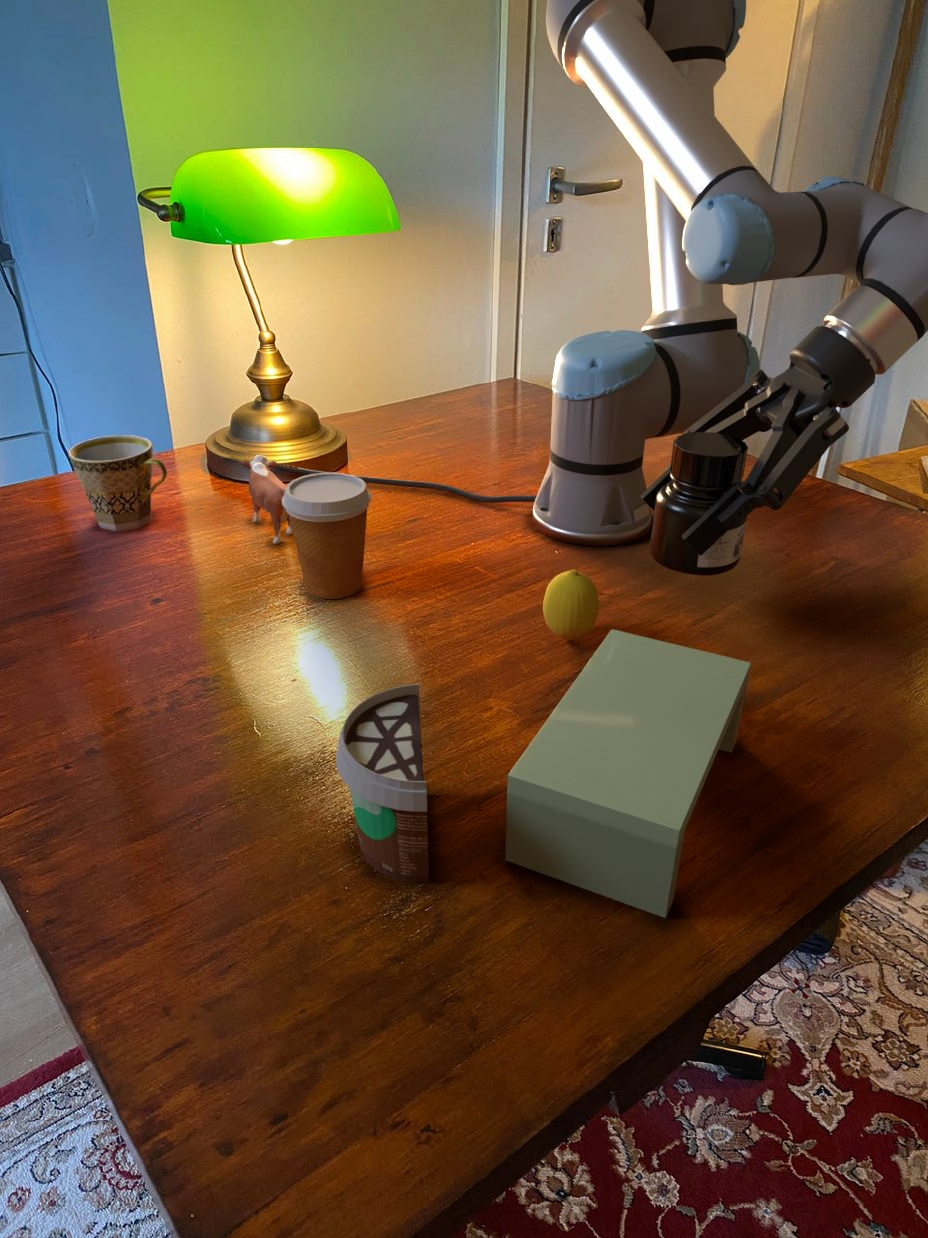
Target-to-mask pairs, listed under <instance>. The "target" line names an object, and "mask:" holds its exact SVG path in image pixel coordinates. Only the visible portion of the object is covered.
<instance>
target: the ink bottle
mask: <svg viewBox="0 0 928 1238" xmlns="http://www.w3.org/2000/svg"><path fill="white" fill-rule="evenodd" d="M672 444H673V445H672V450H671V451H672V453H671V460H670V465H671V467H670V470H671V472H670V478H671V481H670V482H669V483H668V484H666V485H664V486H663V487H662V488H661V489H660V490H659V492H658V494H657V496H656V501H655V510H654V511H653V519H652V528H651V535H650V536H651V537H650V544H649V553H650V557H651V559H652V560H653V561H654V562H655V563H657V564H658V565H660V566H661V567H663V568H665V569H669V570H671V571H674V572H677V573H681V574H685V575H692V576H698V577H699V576H700V577H708V576H709V577H712V576H719V575H723V574H725V573H727V572H730V571H731V570H733V569H735V567H736V566H737V565H738V564H739V563H740V559H741V555H742V550H743V544H744V540H745V539H744V538H745V533H746V529H747V522H748V516H749V515H747V516H746V517H745V518H744V519H743V520H742V521H741V522H740V523H739V524H738V525H737V526H736V527H735V528H733V529H732V530H730V531H729V530H728V531H727V532H726V533H725V534H724V535H723V536H722V537H720V538H719V539H718V540H717V541H716V542H715V543H714V544H713V545H712V546H711V547H710V548H709V549H708V550H707V551H706V552H705V553H704V554H703V555H701V556H700V555H699V554H698V553H697V552H696V551H695V550H694V549H693V548H692V547H691V546H690V545H689V544H688V543H687V542H686V541H685V540H684V539H683V538H682V537H681V536H682V535H683V534H684V533H685V532H686V531H687V530H688V529H689V528H690V527H691V526H692V525H693V524H694V523H695V522H697V521H698V520H699V519H700V518H701V517H702V516H703V515H704V514H705V513H706V512H707V511H708V510H709V509H710V508H711V507H712V506H713V505H714V504H715V503H716V502H717V501H718V500H719V499H720V498H722V497H723V496H724V495H725V494H726V493H727V492H728V491H729V490H730V489H731V488H732V487H733V486H735V487H736V488H737V489H738V490H739V491H740V492H741V493H742V490H741V489H740V488H739V487H738V486H737V483H738V482H743V478H744V474H745V469H746V462H747V457H748V451H749V446H748V445H747V443H746V442H745V441H744V440H740V439H738V438H736V437H732V436H729V435H726V434H719V433H713V432H695V433H686V434H683V433H682V434H681V435H677V436H676V438H675V439H674V440H673V443H672Z"/></svg>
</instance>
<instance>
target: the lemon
mask: <svg viewBox="0 0 928 1238" xmlns="http://www.w3.org/2000/svg"><path fill="white" fill-rule="evenodd" d="M599 601H600V600H599V595H598V590H597V587H596V585H595V583H594V582H593V580H592V579H591V578H590V577H588V575H586V574H585V573H582V572H579V571H578V570H577V569H570V570H566V571H564V572H561V573H559V574H558V575H555V576H554V578H552V579H551V580H550V581H549V583H548V585H547V588H546V590H545V594H544V597H543V602H542V613H543V617H544V621H545V624H546V626H547V627H548V629H549V630H550V631H551V632H552V633H553V634H554V635H555V636H557V637H560V638H562V639H564V640H565V641H567V642H572V641H573V640H575V639H578V638H581V637H583V636H585V635H586V634H588V633H589V632H590V631H591V630H592V629H593V628H594V626H595V623H596V621H597V619H598V615H599V609H600V603H599Z"/></svg>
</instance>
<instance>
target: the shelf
mask: <svg viewBox="0 0 928 1238" xmlns="http://www.w3.org/2000/svg"><path fill="white" fill-rule="evenodd" d="M751 666H752V662H750V661H746V660H742V659H738V658H733V657H729V656H725V655H721V654H717V653H713V652H708V651H704V650H700V649H696V648H692V647H689V646H685V645H679V644H675V643H672V642H667V641H663V640H658V639H655V638H650V637H646V636H642V635H638V634H633V633H630V632H625V631H622V630H618V629H613V628H611V630H610V631H609V632H608V634H607V635H606V637H604V639H603V641H602V642H601V644H600V645H599V647H597V649H596V651H594V652H593V655H592V656H591V657H590V659H589V660H588V662H587V663H586V665H584V667H583V669H582V670H581V671H580V673H579V674H578V675H577V678H575V680H574V682H573V683H572V684H571V685H570V687H569V688H568V690H567V691H566V692H565V694H564V696H563V697H562V698H561V700H560V701H559V703H558V704H557V705H556V707H555V708H554V709H553V711H552V712H551V714H550V715H549V716H548V718H547V719H546V721H545V722H544V724H543V725H542V727H541V728H540V729H539V731H538V732H537V733H536V735H535V736H534V738H533V739H532V741H531V742H530V743H529V745H528V746H527V748H526V749H525V750H524V751H523V754H521V756H520V757H519V759H518V760H517V762H516V763H515V765H513V767H512V768H511V770H510V772H509V773H508V774H507V788H506V791H507V794H506V820H505V821H506V822H505V823H506V824H505V853H504V856H505V857H504V860H505V861H506V862H509V863H512V864H515V865H517V866H520V867H523V868H526V869H528V870H531V871H534V872H536V873H539V874H542V875H545V876H548V877H551V878H554V879H556V880H559V881H561V882H564V883H567V884H569V885H573V886H575V887H578V888H581V889H583V890H586V891H589V892H592V893H595V894H598V895H600V896H602V897H606V898H608V899H611V900H613V901H615V902H616V901H617V902H619V903H622V904H625V905H628V906H630V907H633V908H636V909H639V910H641V911H644V912H646V913H650V914H652V915H656V916H657V917H660V918H663V919H667V917H668V915H669V912H670V909H671V907H672V905H673V901H674V900H675V893H676V888H677V881H678V876H679V871H680V870H679V869H680V863H681V857H682V851H683V846H684V839H685V834H686V833H685V832H686V828H687V826H688V823H689V820H690V819H691V816H692V814H693V811H694V810H695V807H696V804H697V802H698V799H699V797H700V795H701V792H702V790H703V788H704V784H705V782H706V780H707V778H708V775H709V773H710V770H711V769H712V766H713V765H714V760H715V758H716V756H717V754H718V752H719V750H720V751H724V752H727V753H733V750H734V747H735V745H736V743H737V740H738V735H739V729H740V725H741V724H740V723H741V720H742V713H743V708H744V703H745V697H746V692H747V688H748V684H749V683H748V682H749V677H750V672H751Z"/></svg>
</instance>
